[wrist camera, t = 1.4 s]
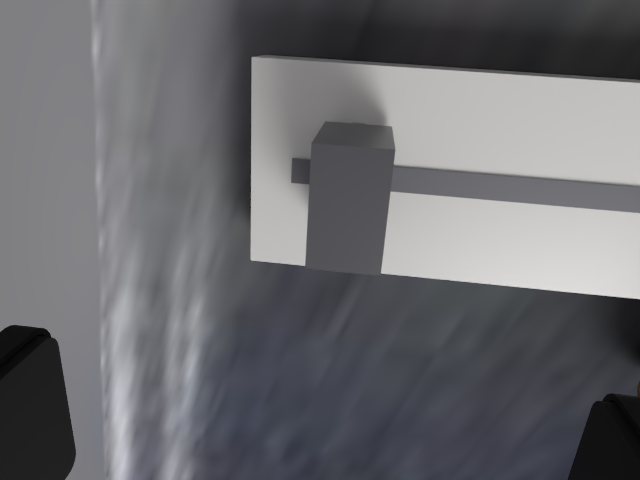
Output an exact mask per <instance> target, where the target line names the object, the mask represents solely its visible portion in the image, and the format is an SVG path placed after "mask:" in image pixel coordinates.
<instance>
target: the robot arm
mask: <svg viewBox="0 0 640 480" xmlns="http://www.w3.org/2000/svg"><path fill="white" fill-rule="evenodd" d="M75 456H76V449H75V443H74V437H73V431H72V425H71V419H70V413H69V406H68V401H67V395H66V388H65V383H64V376H63V371H62V364H61V358H60V352H59V346H58V343H57V341H56V339H54V338H51V335H50V333H49V332H48V331H47V330H46V329H44V328H36V327H28V326H19V325H11V326H9V327H7V328H5V329H4V330H2V331H1V332H0V480H65V479H66V477H67V476H68V474H69V473H70V471H71V469H72V467H73V464H74V461H75ZM568 480H640V397H638V396H630V395H621V394H612V393H611V394H607V395H606V396H605V397H604V399H603V401H596V402H595V403H594V404H593V406H592V408H591V411H590V414H589V417H588V420H587V423H586V426H585V429H584V432H583V435H582V438H581V441H580V444H579V447H578V450H577V453H576V456H575V459H574V462H573V465H572V468H571V471H570V474H569V477H568Z"/></svg>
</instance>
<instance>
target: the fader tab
mask: <svg viewBox="0 0 640 480" xmlns="http://www.w3.org/2000/svg"><path fill="white" fill-rule="evenodd" d="M394 158H395V143H394V137H393V130H392V126H380V125H367V124H354V123H341V122H328V121H325V122H324V124H323V126H322V127H321V129H320V130H319V132H318V134H317V135H316V137H315V138H314V140H313V141H312V143H311V162H310V181H309V201H308V220H307V240H306V259H305V268H307V269H317V270H327V271H337V272H347V273H357V274H367V275H377V276H381V268H382V260H383V251H384V243H385V234H386V226H387V217H388V209H389V200H390V192H391V183H392V175H393V166H394Z"/></svg>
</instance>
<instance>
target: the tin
mask: <svg viewBox="0 0 640 480" xmlns="http://www.w3.org/2000/svg"><path fill="white" fill-rule="evenodd" d="M637 393H638V397H640V382H639V385H638V389H637Z"/></svg>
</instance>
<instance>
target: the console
mask: <svg viewBox="0 0 640 480" xmlns="http://www.w3.org/2000/svg"><path fill="white" fill-rule="evenodd" d="M325 121H328V122H341V123H354V124H367V125H380V126H392V130H393V137H394V143H395V158H394V166H393V175H392V183H391V192H390V200H389V209H388V217H387V226H386V234H385V243H384V251H383V260H382V268H381V273H383V274H393V275H403V276H413V277H423V278H433V279H443V280H453V281H463V282H473V283H483V284H493V285H503V286H513V287H523V288H533V289H543V290H553V291H563V292H573V293H583V294H593V295H603V296H613V297H623V298H633V299H640V80H636V79H621V78H606V77H591V76H576V75H561V74H546V73H531V72H516V71H501V70H486V69H470V68H455V67H440V66H425V65H410V64H395V63H380V62H365V61H350V60H335V59H320V58H305V57H290V56H275V55H262V56H255V57H252V84H251V260H253V261H263V262H273V263H283V264H293V265H303V266H305V259H306V240H307V220H308V201H309V181H310V162H311V143H312V141H313V140H314V138H315V137H316V135H317V134H318V132H319V130H320V129H321V127H322V126H323V124H324V122H325Z"/></svg>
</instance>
